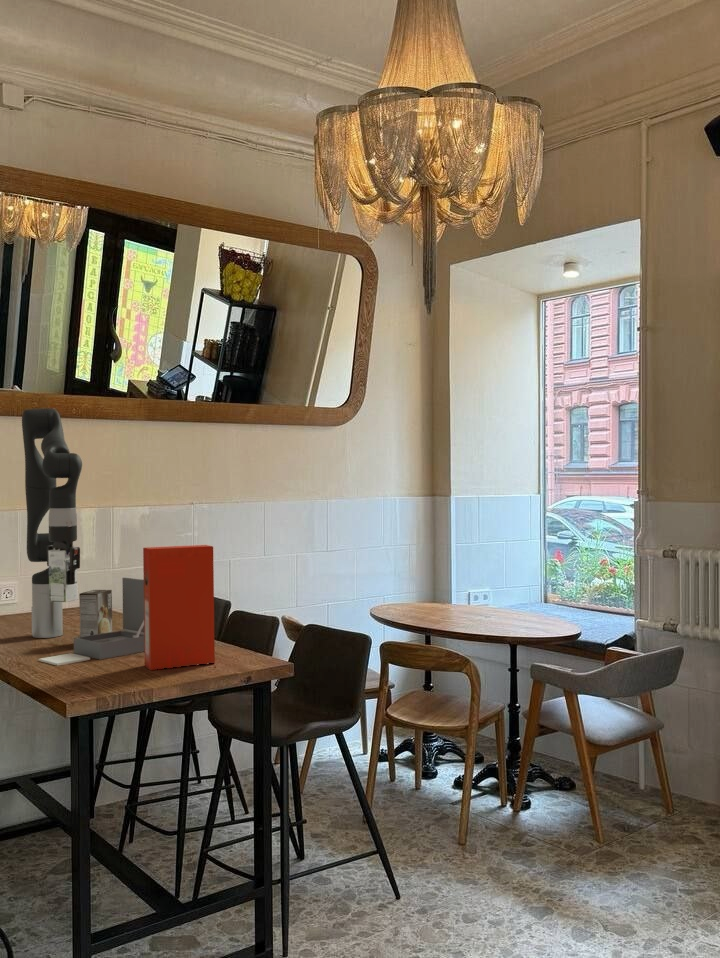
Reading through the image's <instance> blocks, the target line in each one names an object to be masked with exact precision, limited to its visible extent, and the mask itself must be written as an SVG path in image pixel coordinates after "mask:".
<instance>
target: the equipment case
mask: <svg viewBox="0 0 720 958" xmlns="http://www.w3.org/2000/svg"><path fill="white" fill-rule="evenodd" d="M121 582H122V584H121V585H122V630H116V631H112V632H108V633H102V634H95V635H89V636H83V637H80V636H76V637H74V638H73V654H77V655H81V656H85V657H89V658H92V659H97V660H99V661H100V660H105V659H111V658H116V657H121V656H122V657H123V656H129V655H133V654H139V653H143V652H144V653H145V650H144V579H142V578H141V579H140V578H133V577H122V581H121Z"/></svg>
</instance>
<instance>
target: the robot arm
mask: <svg viewBox="0 0 720 958" xmlns="http://www.w3.org/2000/svg"><path fill="white" fill-rule="evenodd" d="M21 414H22V415H21V426H22V427H21V428H22V429H21V430H22V439H23V449H24V463H25V464H24V466H25V467H24V472H25V473H24V474H25V475H24V478H25V479H24V482H25V483H24V486H25V487H24V488H25V501H26V515H27V516H26V518H27V519H26V522H27V523H26V524H27V525H26V555H27V556H26V557H27V560H28V561H29V562H31V563H42V562H43V563H46V565H47V568H45V569H44V570H42V571H39V572H36V573H34V574H33V575H31V598H32V599H31V604H32V605H31V636H32V637H33V638H39V639H42V638H43V639H49V638H57V637H60V636H64V635H63V632H64V631H63V621H64V620H63V602H51V601H49V555H48V551H49V550H58V551H62V550H65V551H66V553H67V555H68V553H69V556H70V560H66V561H65V560H64V562H65V563H66V570H67V571H66V584H67V585H72V584H75V570H76V569H77V570H78V569H80V568H81V547H79V546H74V542H77V541H78V516H77V515H78V514H77V503H76V502H77V500H76V497H77V495H76V494H77V493H76V492H77V488H78V482H79V479H80V476H81V472H82V468H83V461H82V459H81V456H80V455H78V454H77V453H74V452H71V451H70V449H69V447H68V445H67V443H66V440H65V435H64V429H63V423H62V419H61V415H60V412H58V410H57V409H55V408H50V407H49V408H47V407H46V408H45V407H44V408H29V409H28V408H27V409H24V410H23V411H22V413H21ZM37 439H39V440H41V439H42V441H41V443H40V449H41V452H42V455H43V456H42V455H41V453H40V452H39V450H38V448H37V445H36V442H35V440H37ZM57 479H67V481H66V483H65V484H63V485H60V486H57ZM47 513H48V532H47V533H41V532H40V533H39V532H38V529H39V528H40V524H41V523H42V521H43V519H44V517H45V516H46V514H47ZM74 555H75V556H74ZM75 561H76V564H75ZM69 564H70V566H69Z"/></svg>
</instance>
